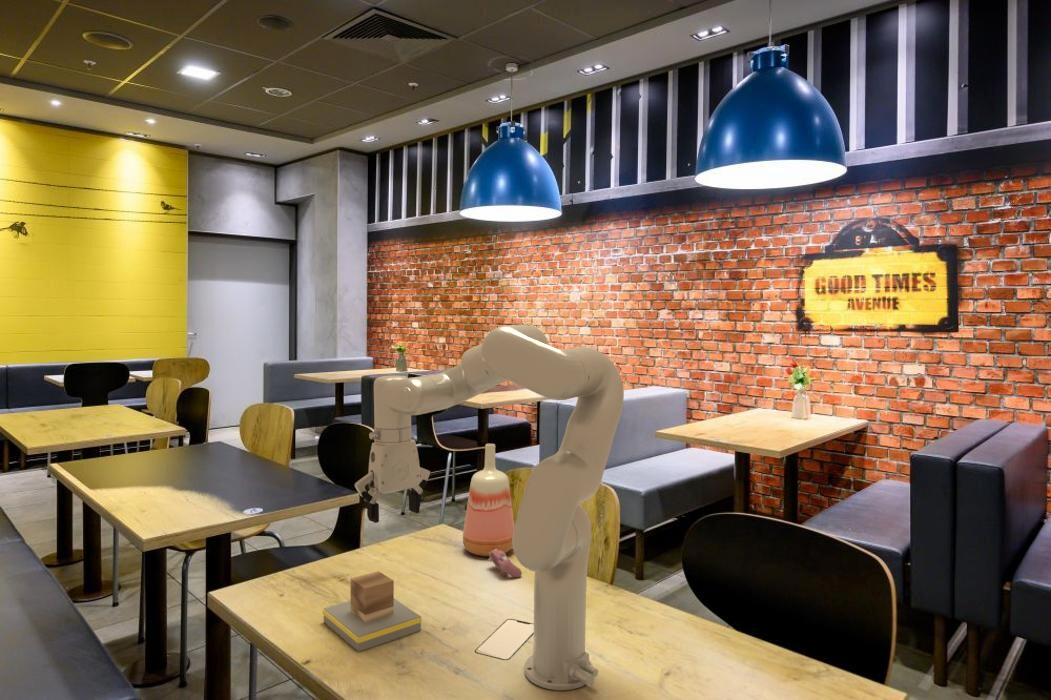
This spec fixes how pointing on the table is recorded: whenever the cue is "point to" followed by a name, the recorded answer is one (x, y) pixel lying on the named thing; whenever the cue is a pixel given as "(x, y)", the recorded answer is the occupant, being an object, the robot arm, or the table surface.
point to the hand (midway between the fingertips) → (394, 516)
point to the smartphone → (507, 639)
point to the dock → (371, 625)
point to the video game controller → (504, 563)
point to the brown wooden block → (372, 596)
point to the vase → (489, 510)
